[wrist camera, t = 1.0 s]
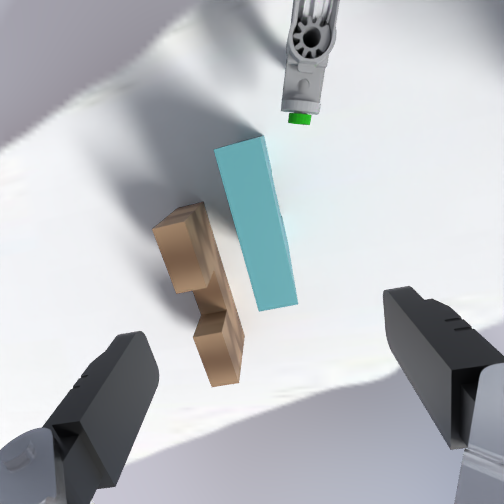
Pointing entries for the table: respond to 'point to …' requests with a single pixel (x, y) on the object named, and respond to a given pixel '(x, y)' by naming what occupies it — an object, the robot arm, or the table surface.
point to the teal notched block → (258, 221)
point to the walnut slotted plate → (203, 289)
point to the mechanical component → (308, 57)
